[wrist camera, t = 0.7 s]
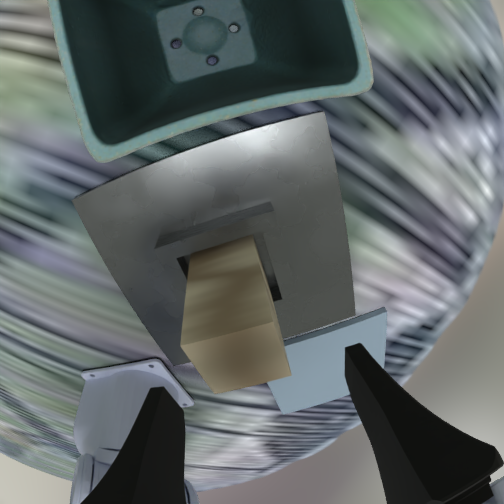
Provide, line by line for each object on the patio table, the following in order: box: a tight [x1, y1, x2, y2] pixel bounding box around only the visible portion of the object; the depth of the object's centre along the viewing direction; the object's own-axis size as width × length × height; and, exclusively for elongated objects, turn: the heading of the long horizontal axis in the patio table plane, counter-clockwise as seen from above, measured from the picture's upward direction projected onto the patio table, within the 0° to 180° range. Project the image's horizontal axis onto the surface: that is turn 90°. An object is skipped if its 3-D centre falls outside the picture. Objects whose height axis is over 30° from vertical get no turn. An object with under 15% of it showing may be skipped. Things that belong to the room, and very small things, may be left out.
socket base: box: [72, 111, 355, 366], centre depth 19 cm, size 16×16×2 cm
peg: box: [180, 234, 292, 394], centre depth 16 cm, size 4×4×8 cm
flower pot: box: [47, 0, 374, 163], centre depth 9 cm, size 9×9×9 cm
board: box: [267, 307, 387, 414], centre depth 27 cm, size 12×12×1 cm
